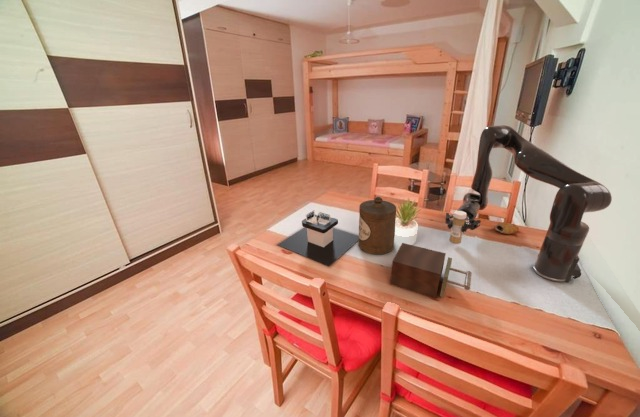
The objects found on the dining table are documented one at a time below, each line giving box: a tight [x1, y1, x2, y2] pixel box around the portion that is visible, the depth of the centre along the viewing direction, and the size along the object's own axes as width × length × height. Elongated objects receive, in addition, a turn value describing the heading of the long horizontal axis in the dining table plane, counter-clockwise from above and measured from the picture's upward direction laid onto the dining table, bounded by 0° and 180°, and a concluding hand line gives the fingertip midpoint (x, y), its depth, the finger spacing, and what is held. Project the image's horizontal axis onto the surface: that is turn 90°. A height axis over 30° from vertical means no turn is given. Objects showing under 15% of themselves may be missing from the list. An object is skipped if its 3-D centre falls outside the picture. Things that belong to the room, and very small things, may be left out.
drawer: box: [439, 256, 472, 298], centre depth 86 cm, size 20×11×8 cm, turn 59°
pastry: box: [493, 221, 519, 235], centre depth 118 cm, size 9×7×4 cm
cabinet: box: [389, 242, 447, 299], centre depth 89 cm, size 15×13×10 cm
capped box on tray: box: [277, 209, 359, 267], centre depth 114 cm, size 28×26×13 cm
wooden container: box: [358, 196, 397, 255], centre depth 108 cm, size 15×15×22 cm
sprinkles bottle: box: [448, 210, 467, 245], centre depth 107 cm, size 5×5×13 cm
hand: (456, 228), depth 104 cm, fingers closed on sprinkles bottle, 4 cm apart
